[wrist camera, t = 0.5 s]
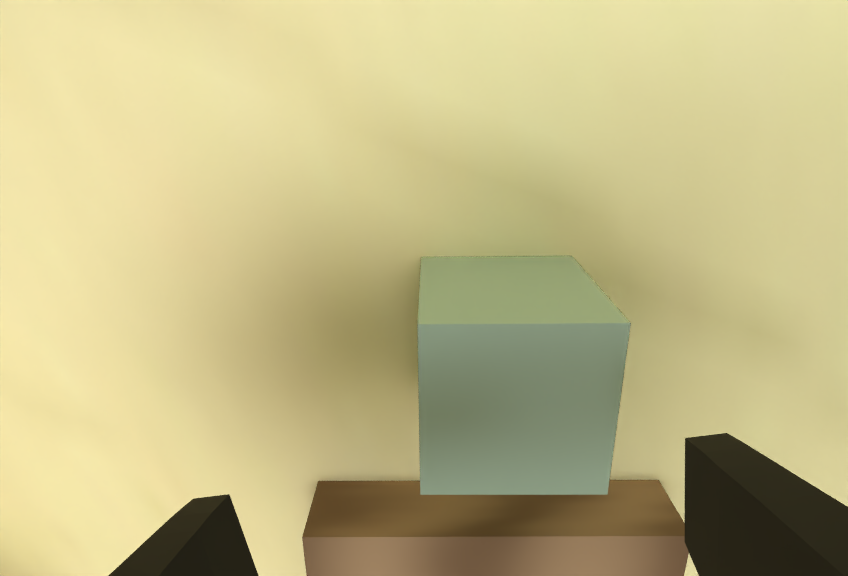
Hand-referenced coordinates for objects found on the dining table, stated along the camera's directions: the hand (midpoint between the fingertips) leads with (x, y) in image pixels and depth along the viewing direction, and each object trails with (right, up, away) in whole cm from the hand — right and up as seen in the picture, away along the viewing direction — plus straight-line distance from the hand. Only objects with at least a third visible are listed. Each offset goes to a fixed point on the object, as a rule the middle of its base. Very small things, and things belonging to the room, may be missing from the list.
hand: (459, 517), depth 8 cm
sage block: (+2, +2, +8) cm, 9 cm away
